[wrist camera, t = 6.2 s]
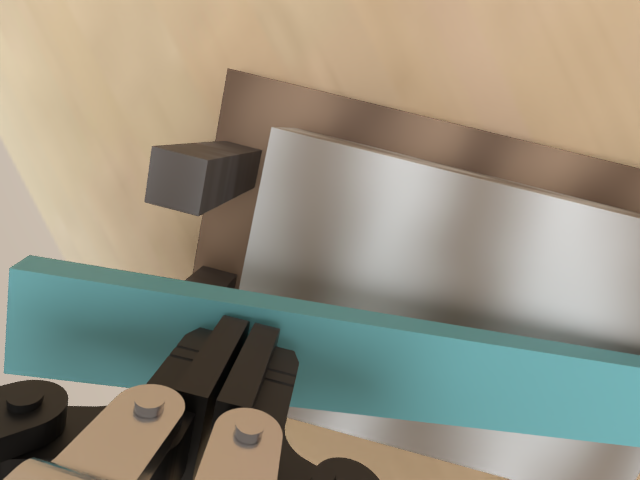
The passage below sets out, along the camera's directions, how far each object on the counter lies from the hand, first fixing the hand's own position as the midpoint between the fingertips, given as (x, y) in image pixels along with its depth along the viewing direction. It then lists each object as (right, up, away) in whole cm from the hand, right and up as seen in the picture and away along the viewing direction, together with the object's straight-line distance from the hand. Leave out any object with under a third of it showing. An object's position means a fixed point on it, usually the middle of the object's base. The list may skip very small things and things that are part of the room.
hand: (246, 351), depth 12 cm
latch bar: (+6, -1, +3) cm, 7 cm away
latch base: (+8, +1, +13) cm, 16 cm away
